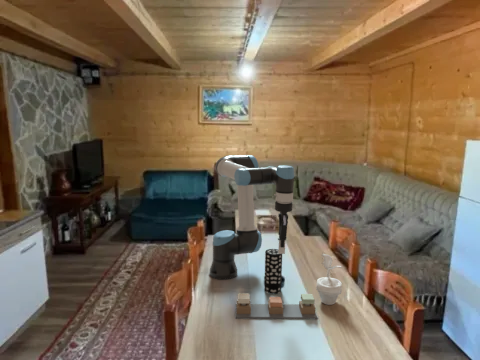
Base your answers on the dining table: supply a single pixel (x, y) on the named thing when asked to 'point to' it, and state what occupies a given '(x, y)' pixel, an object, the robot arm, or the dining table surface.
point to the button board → (275, 311)
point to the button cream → (243, 299)
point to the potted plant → (328, 283)
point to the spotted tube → (273, 271)
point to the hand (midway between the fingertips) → (281, 253)
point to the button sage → (307, 299)
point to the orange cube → (275, 301)
